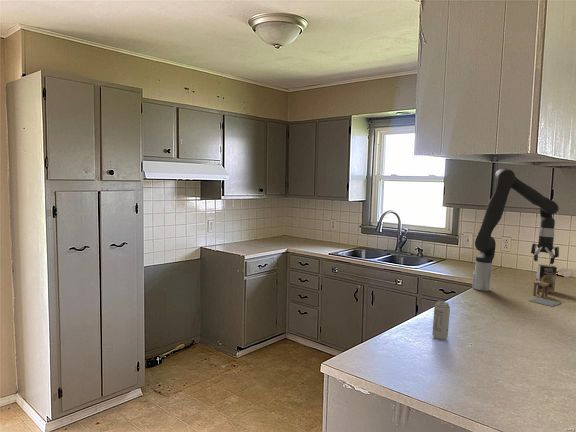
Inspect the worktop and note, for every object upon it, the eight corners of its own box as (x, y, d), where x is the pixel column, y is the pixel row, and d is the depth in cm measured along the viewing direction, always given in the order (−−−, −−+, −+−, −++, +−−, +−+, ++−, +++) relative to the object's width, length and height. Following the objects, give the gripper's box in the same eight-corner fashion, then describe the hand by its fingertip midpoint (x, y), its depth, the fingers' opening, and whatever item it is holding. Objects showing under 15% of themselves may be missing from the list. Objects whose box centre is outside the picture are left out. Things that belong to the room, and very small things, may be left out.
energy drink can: (450, 340, 173) (453, 305, 171) (437, 341, 171) (439, 305, 170) (442, 335, 178) (445, 300, 177) (429, 335, 177) (432, 300, 176)
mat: (528, 301, 238) (528, 300, 238) (538, 298, 245) (538, 297, 245) (551, 306, 228) (551, 306, 228) (561, 303, 235) (561, 303, 235)
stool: (532, 295, 251) (533, 282, 250) (537, 293, 254) (538, 280, 254) (543, 297, 246) (544, 284, 245) (548, 296, 250) (549, 283, 249)
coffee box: (538, 291, 260) (540, 265, 259) (534, 288, 266) (537, 263, 265) (554, 293, 258) (557, 267, 257) (550, 290, 264) (553, 265, 263)
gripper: (530, 234, 250) (528, 260, 252) (557, 237, 239) (554, 265, 240) (536, 233, 255) (534, 259, 256) (562, 236, 243) (559, 264, 245)
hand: (543, 262), depth 248 cm, fingers open, 8 cm apart
